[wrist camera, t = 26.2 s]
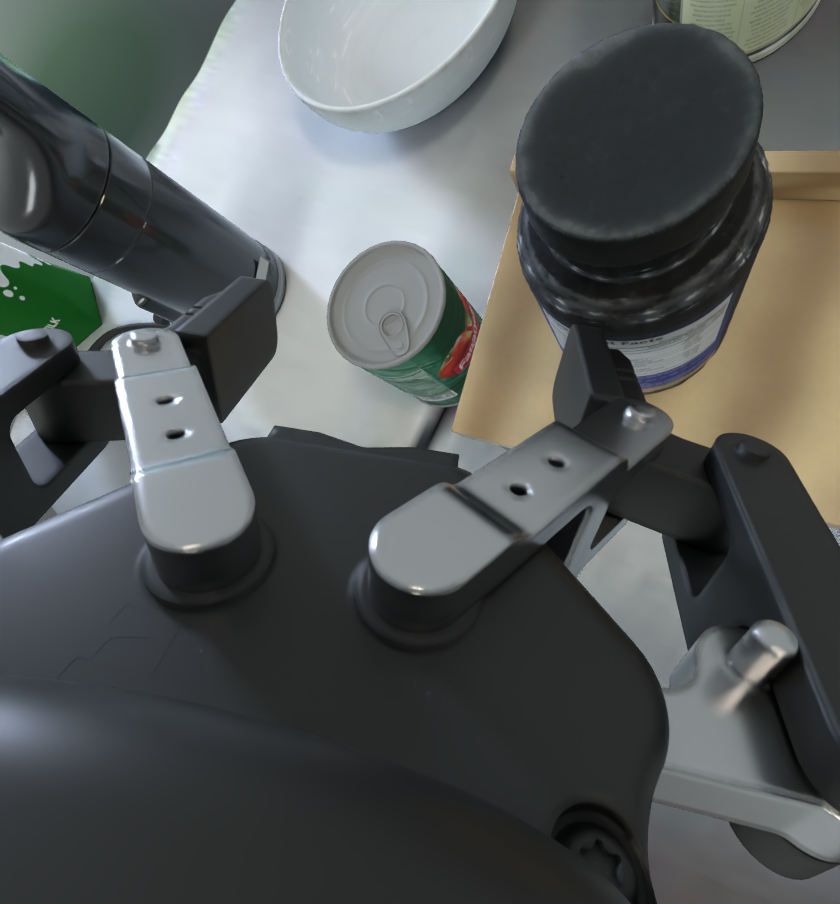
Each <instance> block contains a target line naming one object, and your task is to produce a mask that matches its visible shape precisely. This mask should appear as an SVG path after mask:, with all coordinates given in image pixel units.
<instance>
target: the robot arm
mask: <svg viewBox="0 0 840 904" xmlns="http://www.w3.org/2000/svg"><path fill="white" fill-rule="evenodd" d="M0 231H1V232H2V233H3V234H5V235H7V236H9V237H11V238H13V239H15V240H17V241H19V242H21V243H24V244H26V245H28V246H30V247H32V248H35V249H37V250H39V251H42V252H44V253H46V254H48V255H51V256H53V257H55V258H57V259H59V260H62V261H64V262H66V263H68V264H70V265H72V266H75V267H77V268H79V269H81V270H84V271H86V272H88V273H91V274H93V275H95V276H97V277H99V278H101V279H104V280H106V281H108V282H110V283H112V284H114V285H116V286H119V287H121V288H123V289H125V290H127V291H129V292H131V293H132V296H133V299H134V302H135V304H136V305H137V306H138V307H140V308H142V309H144V310H146V311H149V312H151V313H153V314H154V315H153V320H154V322H155V323H138V324H129V325H124V326H120V327H117V328H115V329H112V330H110V331H108V332H107V333H105V334H104V335H102V336H101V337H100V338H99V339H98V340H97V341H96V342H95V343H94V344H93V345H92V346H91V347H90V349H89V350H88V351H77V349H76V346H75V343H74V340H73V338H72V336H71V334H70V333H68V332H67V331H64V330H61V329H54V328H38V329H30V330H25V331H21V332H17V333H14V334H12V335H9V336H7V337H5V338H3V339H2V340H0V904H657V902H656V898H655V894H654V890H653V886H652V882H651V877H650V871H649V863H648V824H649V816H650V809H651V803H652V802H655V803H659V804H663V805H666V806H670V807H674V808H678V809H682V810H686V811H690V812H694V813H698V814H701V815H705V816H709V817H713V818H717V819H721V820H725V821H729V823H730V826H731V827H732V829H733V831H734V833H735V835H736V836H737V838H738V839H739V840H740V842H741V843H742V845H743V846H744V847H745V848H746V849H747V850H748V852H749V853H750V854H751V855H752V856H753V857H754V858H755V859H757V860H758V861H759V862H760V863H761V864H763V865H764V866H765V867H767V868H768V869H770V870H771V871H773V872H775V873H777V874H779V875H781V876H784V877H787V878H790V879H796V880H804V879H809V878H811V877H814V876H816V875H818V874H820V873H823V872H825V871H827V870H829V869H832V868H834V867H836V866H838V865H840V546H839V545H838V543H837V541H836V539H835V538H834V536H833V534H832V533H831V531H830V529H829V528H828V526H827V524H826V522H825V521H824V519H823V517H822V516H821V514H820V512H819V511H818V509H817V507H816V505H815V504H814V502H813V500H812V499H811V497H810V495H809V493H808V492H807V490H806V488H805V487H804V485H803V483H802V482H801V480H800V478H799V476H798V475H797V473H796V471H795V470H794V468H793V466H792V464H791V463H790V461H789V460H788V458H787V457H786V456H785V455H784V454H783V453H782V452H781V451H780V450H779V449H777V448H776V447H774V446H773V445H771V444H769V443H768V442H766V441H764V440H761V439H759V438H756V437H754V436H750V435H746V434H742V433H724V434H721V435H719V436H718V437H717V438H716V440H715V442H714V443H713V445H712V447H711V448H709V447H706V446H703V445H700V444H697V443H694V442H691V441H688V440H686V439H683V438H680V437H678V436H676V435H674V434H672V433H671V432H672V430H673V428H674V424H673V421H672V419H671V418H670V417H669V415H668V414H667V413H665V412H664V411H663V410H661V409H660V408H658V407H656V406H654V405H652V404H650V403H647V402H646V399H645V397H644V394H643V392H642V389H641V386H640V384H639V382H638V379H637V376H636V373H634V372H635V371H634V368H633V366H632V363H631V360H629V359H628V358H627V357H626V356H625V355H624V354H623V353H622V352H621V351H620V350H618V349H611V348H609V347H608V344H607V341H606V338H605V335H604V332H603V329H602V328H596V327H589V326H582V325H575V324H573V325H572V326H571V328H570V330H569V333H568V336H567V340H566V343H565V347H564V350H563V353H562V357H561V360H560V364H559V367H558V370H557V374H556V377H555V381H554V386H553V393H552V403H553V411H554V420H555V421H554V422H552V423H550V424H549V425H547V426H546V427H544V428H543V429H541V430H540V431H538V432H537V433H535V434H533V435H532V436H530V437H529V438H527V439H526V440H524V441H523V442H521V443H520V444H518V445H516V446H515V447H513V448H512V449H510V450H509V451H507V452H506V453H504V454H502V455H501V456H499V457H498V458H496V459H495V460H493V461H492V462H490V463H489V464H487V465H485V466H484V467H482V468H481V469H479V470H478V471H476V472H475V473H473V474H472V473H470V472H468V471H466V470H463V469H461V468H458V459H459V455H458V454H452V453H446V452H439V451H433V450H427V449H421V448H414V447H385V448H366V447H360V446H357V445H354V444H351V443H348V442H345V441H343V440H340V439H337V438H334V437H331V436H328V435H325V434H322V433H319V432H313V431H307V430H301V429H294V428H288V427H282V426H274V427H273V429H272V431H271V432H270V434H269V435H268V437H260V438H250V439H243V440H238V441H234V442H230V443H228V441H227V438H226V436H225V434H224V431H223V429H222V427H221V424H220V423H223V421H224V420H225V419H226V418H227V416H228V415H229V414H230V412H231V411H232V410H233V409H234V407H235V406H236V405H237V403H238V402H239V401H240V400H241V398H242V397H243V396H244V394H245V393H246V392H247V391H248V389H249V388H250V387H251V385H252V384H253V383H254V381H255V380H256V379H257V378H258V376H259V375H260V374H261V372H262V371H263V370H264V369H265V367H266V366H267V365H268V363H269V362H270V361H271V360H272V358H273V357H274V355H275V352H276V348H277V325H276V313H277V311H278V309H279V307H280V305H281V302H282V299H283V296H284V291H285V272H284V268H283V265H282V263H281V261H280V259H279V258H278V256H277V255H276V254H275V253H274V252H273V251H271V250H270V249H269V248H267V247H266V246H264V245H262V244H261V243H259V242H258V241H257V240H254V239H253V238H252V237H250V236H249V235H248V234H246V233H245V232H244V231H242V230H241V229H240V228H238V227H237V226H236V225H234V224H233V223H231V222H230V221H229V220H227V219H226V218H225V217H223V216H222V215H220V214H219V213H218V212H216V211H215V210H214V209H212V208H211V207H210V206H208V205H207V204H205V203H204V202H203V201H201V200H200V199H199V198H197V197H196V196H194V195H193V194H192V193H190V192H189V191H188V190H186V189H185V188H183V187H182V186H181V185H179V184H178V183H177V182H175V181H174V180H173V179H171V178H170V177H168V176H167V175H166V174H164V173H163V172H162V171H160V170H159V169H157V168H156V167H155V166H153V165H152V164H151V163H149V162H148V161H147V160H145V159H144V158H142V157H141V156H140V155H138V154H137V153H135V152H134V151H133V150H131V149H130V148H129V147H127V146H126V145H125V144H123V143H122V142H120V141H119V140H118V139H116V138H115V137H114V136H112V135H111V134H109V133H108V132H107V131H105V130H104V129H103V128H101V127H99V126H98V125H97V124H96V123H94V122H93V121H92V120H90V119H89V118H88V117H86V116H85V115H83V114H82V113H81V112H79V111H78V110H76V109H75V108H73V107H72V106H71V105H69V104H68V103H67V102H65V101H64V100H63V99H61V98H60V97H59V96H57V95H56V94H54V93H53V92H52V91H50V90H49V89H48V88H46V87H45V86H44V85H42V84H41V83H39V82H38V81H37V80H35V79H34V78H33V77H31V76H30V75H29V74H27V73H26V72H25V71H23V70H22V69H20V68H19V67H18V66H16V65H15V64H14V63H12V62H11V61H10V60H8V59H7V58H6V57H4V56H3V55H1V54H0ZM169 321H170V322H172V324H170V322H169ZM164 328H165V329H164ZM121 333H123V334H121ZM118 334H121V335H119V336H117V337H116V338H115V339H114V340H113V341H112V342H111V351H98V350H99V349H100V348H101V347H102V345H103V344H105V343H106V342H107V341H108V340H110V339H111V338H112V337H114V336H116V335H118ZM24 408H26V410H27V412H28V414H29V416H30V418H31V421H32V423H33V425H34V427H35V429H36V430H34V431H33V432H32V433H31V434H30V435H29V436H28V437H26V438H25V439H24V440H23V441H22V442H21V443H20V444H19V445H17V446H16V447H15V446H14V444H13V442H12V440H11V437H10V425H11V422H12V420H13V419H14V417H15V416H16V415H17V414H19V412H21V411H22V410H23V409H24ZM114 440H126V445H127V450H128V455H129V460H130V465H131V472H130V478H131V484H129V485H127V486H125V487H122V488H120V489H118V490H115V491H113V492H111V493H108V494H106V495H103V496H101V497H99V498H96V499H94V500H92V501H89V502H87V503H85V504H82V505H80V506H78V507H75V508H73V509H71V510H68V511H66V512H64V513H61V514H59V515H57V516H54V517H52V518H50V519H48V520H45V521H43V522H40V523H38V524H36V525H35V523H36V522H37V521H38V520H39V519H40V518H41V517H42V516H43V515H44V513H46V511H47V510H48V509H49V508H50V507H51V506H52V505H53V504H54V503H55V502H56V501H57V499H58V498H59V497H60V496H61V495H62V494H63V493H64V492H65V491H66V490H67V488H68V487H69V486H70V485H71V484H72V483H73V482H74V481H75V480H76V479H77V478H78V476H79V475H80V474H81V473H82V472H83V471H84V470H85V469H86V468H87V467H88V465H89V464H90V463H91V462H92V461H93V460H94V459H95V458H96V457H97V456H98V455H99V453H100V452H101V451H102V450H103V449H104V448H105V447H106V445H107V444H108V442H109V441H114ZM628 520H629V521H631V522H634V523H636V524H639V525H642V526H644V527H647V528H649V529H652V530H654V531H657V532H659V533H662V539H663V544H664V548H665V552H666V557H667V561H668V566H669V570H670V574H671V579H672V583H673V587H674V592H675V596H676V600H677V605H678V609H679V614H680V618H681V622H682V627H683V631H684V635H685V640H686V644H687V648H688V652H687V654H686V655H685V656H684V657H683V659H682V660H681V661H680V662H679V664H678V665H677V666H676V668H675V669H674V670H673V672H672V674H671V676H670V682H669V684H670V688H661V686H660V683H659V681H658V679H657V677H656V675H655V673H654V671H653V669H652V667H651V666H650V664H649V662H648V661H647V659H646V658H645V656H644V655H643V653H642V652H641V651H640V650H639V648H638V647H637V646H636V645H635V643H634V642H633V641H632V640H631V639H630V638H629V637H628V636H627V634H626V633H625V632H624V631H623V630H622V629H621V628H620V627H619V625H618V624H617V623H616V622H615V621H614V620H613V619H612V618H611V616H610V615H609V614H608V613H607V612H606V611H605V610H604V609H603V607H602V606H601V605H600V604H599V603H598V602H597V601H596V600H595V598H594V597H593V596H592V595H591V594H590V593H589V592H588V591H587V590H586V588H585V587H584V586H583V585H582V584H581V583H580V582H579V581H578V579H577V578H576V577H577V576H578V574H579V573H580V571H581V570H582V569H583V567H584V566H585V565H586V564H587V563H588V562H589V561H590V560H591V559H592V558H593V556H594V555H595V554H596V553H597V552H598V551H599V550H600V549H601V548H602V547H603V546H604V545H605V544H606V543H607V542H608V541H609V540H610V539H611V538H612V537H613V536H614V535H615V534H616V533H617V532H618V531H619V530H620V529H621V528H622V527H623V526H624V525H625V524H626V523H627V521H628Z"/></svg>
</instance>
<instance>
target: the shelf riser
mask: <svg viewBox="0 0 840 904" xmlns="http://www.w3.org/2000/svg"><path fill="white" fill-rule="evenodd" d="M764 153H765V156H766V159H767V161H768V163H769V170H770V173H771V177H772V188H773V203H772V206H773V208H772V213H771V216H770V218H771V221H770V223H769V227H768V229H767V233H766V235H765V238H764V241H763V243H762V245H761V247H760V249H759V252H758V254H757V257H756V259H755V262H754V264H753V267H752V269H751V272H750V274H749V277H748V279H747V282H746V284H745V287H744V290H743V292H742V295H741V297H740V300H739V302H738V304H737V307H736V309H735V312H734V314H733V317H732V319H731V322H730V324H729V327H728V329H727V332H726V335H725V337H724V339H723V341H722V343H721V345H720V347H719V348H718V350H717V351H716V353H715V354H714V355H713V356H712V357H711V358H710V359H709V360H708V362H707V363H706V364H705V366H704V367H703V368H702V369H701V370H700V371H699V372H697V373H696V374H695V375H693V376H692V377H691V378H689V379H688V380H686V381H685V382H684V383H682V384H681V385H679V386H676V387H674V388H671V389H667V390H664V391H661V392H657V393H653V394H648V395H644V397H645V399H646V402H647V403H650V404H652V405H654V406H656V407H658V408H660V409H661V410H663V411H664V412H665V413H667V414H668V415H669V417H670V418H671V419H672V421H673V424H674V428H673V430H672V432H671V433H672V434H674V435H676V436H678V437H680V438H683V439H686V440H688V441H691V442H694V443H697V444H700V445H703V446H706V447H709V448H711V447H712V445H713V443H714V442H715V440H716V438H717V437H718V436H719V435H721V434H724V433H742V434H746V435H750V436H754V437H756V438H759V439H761V440H764V441H766V442H768V443H769V444H771V445H773V446H774V447H776V448H777V449H779V450H780V451H781V452H782V453H783V454H784V455H785V456H786V457H787V458H788V460H789V461H790V463H791V464H792V466H793V468H794V470H795V471H796V473H797V475H798V476H799V478H800V480H801V482H802V483H803V485H804V487H805V488H806V490H807V492H808V493H809V495H810V497H811V499H812V500H813V502H814V504H815V505H816V507H817V509H818V511H819V512H820V514H821V516H822V517H823V519H824V521H825V522H826V524H827V526H828V527H830V528H834V529H839V530H840V150H834V151H764ZM515 155H516V154H515ZM515 155H514V158H513V161H512V165H511V168H510V173H511V176H512V178H513V181H514V184H515V186H516V189H517V191H518V196H517V200H516V203H515V207H514V210H513V214H512V218H511V221H510V225H509V228H508V232H507V235H506V239H505V242H504V246H503V249H502V253H501V256H500V260H499V264H498V267H497V271H496V274H495V278H494V281H493V285H492V288H491V292H490V295H489V299H488V303H487V306H486V310H485V313H484V317H483V320H482V324H481V327H480V331H479V334H478V338H477V342H476V345H475V349H474V352H473V356H472V359H471V363H470V366H469V370H468V373H467V377H466V380H465V384H464V388H463V391H462V395H461V398H460V402H459V405H458V409H457V412H456V416H455V419H454V423H453V427H452V431H453V432H455V433H457V434H459V435H461V436H463V437H467V438H471V439H475V440H479V441H483V442H487V443H491V444H495V445H499V446H501V447H502V448H504V449H506V450H508V451H509V450H510V449H512V448H513V447H515V446H516V445H518V444H520V443H521V442H523V441H524V440H526V439H527V438H529V437H530V436H532V435H533V434H535V433H537V432H538V431H540V430H541V429H543V428H544V427H546V426H547V425H549V424H550V423H552V422H554V421H555V420H554V411H553V403H552V393H553V386H554V381H555V377H556V374H557V370H558V367H559V364H560V360H561V357H562V353H563V351H562V350H561V348H560V346H559V344H558V342H557V340H556V338H555V336H554V334H553V332H552V330H551V328H550V326H549V324H548V322H547V320H546V318H545V316H544V314H543V312H542V310H541V308H540V306H539V304H538V302H537V300H536V299H535V297H534V295H533V293H532V291H531V290H530V287H529V285H528V283H527V282H526V280H525V277H524V275H523V272H522V268H521V265H520V261H519V255H518V250H517V228H518V227H517V225H518V217H519V214H520V211H521V205H522V202H523V201H522V198H521V196H520V193H519V190H518V184H517V178H516V172H515V168H516V158H515Z"/></svg>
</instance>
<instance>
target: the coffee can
mask: <svg viewBox="0 0 840 904" xmlns="http://www.w3.org/2000/svg"><path fill="white" fill-rule="evenodd" d="M820 1H821V0H653V8H654V13H653V19H652V25H654V24H656V23H673V22H679V23H682V24H695V25H697V26H701V27H703V28H706V29H711V30H714V31H717V32H720V33H721V34H723V35H725V36H726V37H727V38H728V39H730V40H732V41H733V42H735V43H736V44H737V45H738V46H739V47H740V48H741V49H742V50H743V51H744V52H745V54H746V55H747V56H748V57H749V59H750V60H751V61H752V62H755V61H757V60H760V59H762V58H764V57H766V56H767V55H769V54H771V53H772V52H774V51H775V50H777V49H778V48H780V47H781V46H783V45H784V44H785V43H786V42H788V41H789V40H790V39H791V38H792V37H793V36H795V34H796V33H797V32H798V31H799V30H800V29H801V28H803V27H804V26H805V24H806V23H807V22H808V20H809V18H810V17H811V16H812V14H813V13H814V12H815V10H816V8H817V6H818V4H819V2H820Z"/></svg>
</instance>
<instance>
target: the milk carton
mask: <svg viewBox="0 0 840 904" xmlns="http://www.w3.org/2000/svg"><path fill="white" fill-rule="evenodd" d="M100 325H102V323H101V319H100V315H99V311H98V307H97V303H96V300H95V296H94V292H93V288H92V284H91V280H90V277H88V276H85V275H82V274H79V273H76V272H74V271H71V270H68V269H65V268H62V267H59V266H57V265H54V264H51V263H48V262H46V261H43V260H41V259H38V258H36V257H34V256H31V255H29V254H27V253H24V252H22V251H20V250H18V249H15V248H13V247H11V246H9V245H6V244H4V243H2V242H0V335H4V336H9V335H12V334H14V333H17V332H21V331H25V330H30V329H38V328H54V329H61V330H64V331H67V332H68V333H70V334H71V336H72V338H73V340H74V343H75V346H77V345H79V344H80V343H81V342H82V341H83V340H84V339H85V338H87V337H88V336H89V335H90V334H91V333H92V332H94V331H95V330H96V329H97V328H98V327H99V326H100Z"/></svg>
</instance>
